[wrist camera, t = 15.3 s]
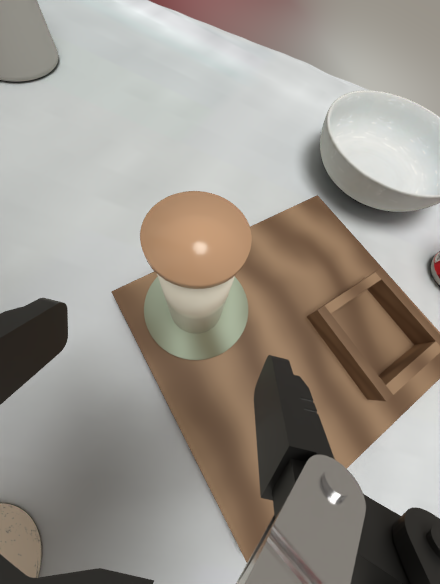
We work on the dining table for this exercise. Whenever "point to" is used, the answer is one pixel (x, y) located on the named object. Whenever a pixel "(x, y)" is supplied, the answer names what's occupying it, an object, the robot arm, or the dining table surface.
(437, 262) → the soda can
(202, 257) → the tan capped cream canister
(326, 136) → the serving bowl
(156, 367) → the walnut board
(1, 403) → the robot arm
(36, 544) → the teacup with lid
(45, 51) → the cylinder vase
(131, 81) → the dining table surface
